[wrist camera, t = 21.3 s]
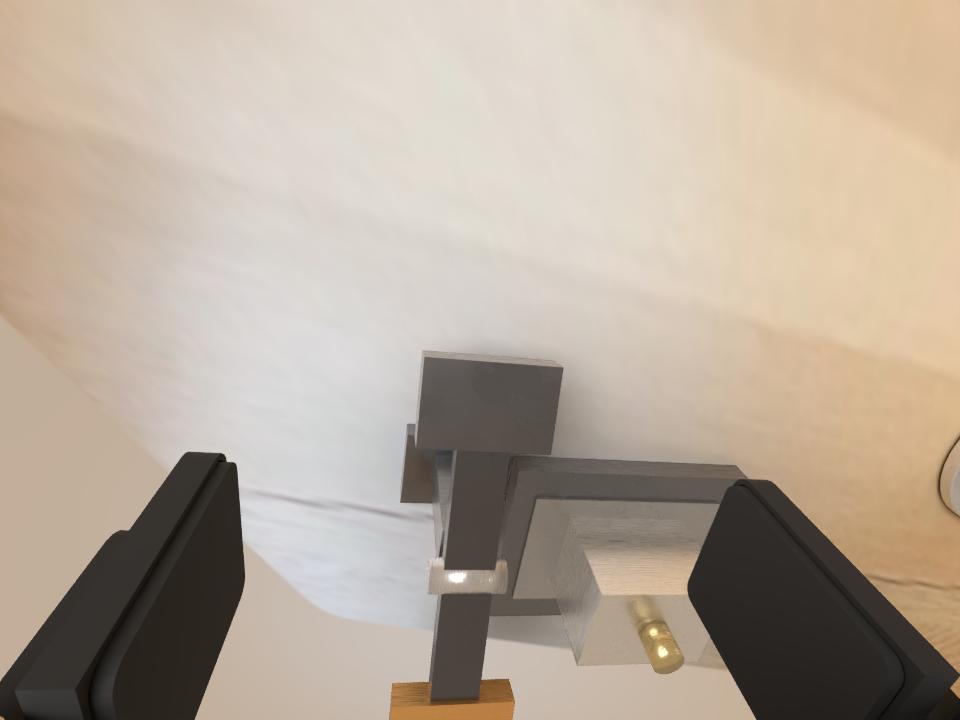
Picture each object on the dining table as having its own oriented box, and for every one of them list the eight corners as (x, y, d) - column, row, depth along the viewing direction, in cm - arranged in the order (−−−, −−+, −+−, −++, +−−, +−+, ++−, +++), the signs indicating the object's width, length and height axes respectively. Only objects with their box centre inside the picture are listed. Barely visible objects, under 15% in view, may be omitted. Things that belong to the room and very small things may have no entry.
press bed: (746, 441, 35) (826, 518, 28) (678, 596, 41) (731, 689, 34) (407, 423, 30) (407, 509, 24) (389, 599, 37) (385, 705, 30)
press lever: (552, 360, 23) (564, 367, 22) (499, 741, 27) (505, 770, 26) (422, 349, 22) (424, 357, 21) (386, 747, 26) (385, 779, 25)
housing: (681, 520, 35) (753, 625, 27) (655, 582, 37) (715, 694, 30) (570, 517, 33) (615, 627, 26) (551, 583, 36) (587, 700, 28)
